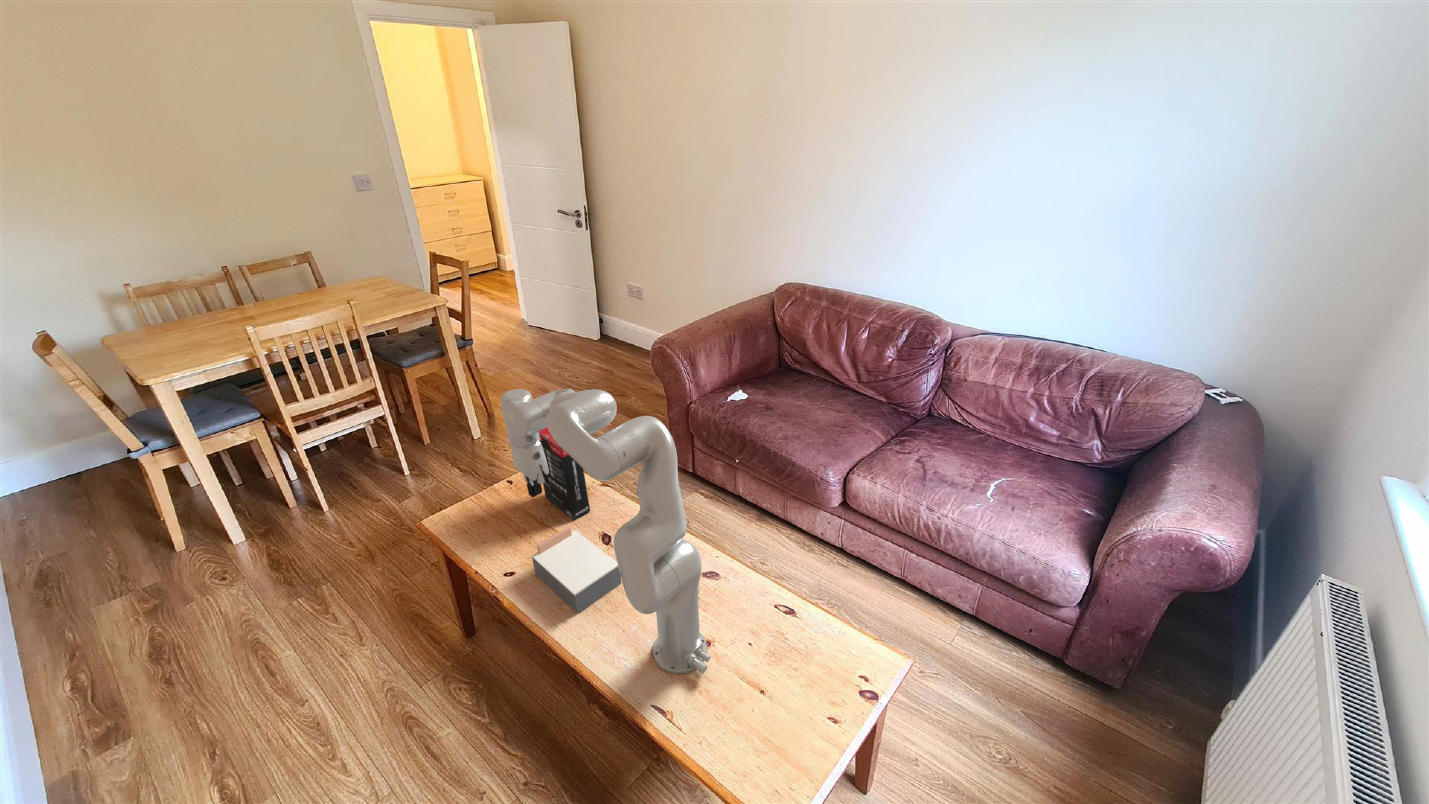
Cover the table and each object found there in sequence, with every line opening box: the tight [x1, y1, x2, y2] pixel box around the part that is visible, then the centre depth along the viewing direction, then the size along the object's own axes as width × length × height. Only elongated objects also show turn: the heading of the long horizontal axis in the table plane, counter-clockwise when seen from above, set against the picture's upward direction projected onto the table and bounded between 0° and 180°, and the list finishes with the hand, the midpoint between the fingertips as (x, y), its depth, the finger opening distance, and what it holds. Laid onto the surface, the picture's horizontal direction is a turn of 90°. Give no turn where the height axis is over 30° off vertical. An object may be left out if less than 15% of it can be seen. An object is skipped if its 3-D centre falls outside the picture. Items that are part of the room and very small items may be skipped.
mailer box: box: [531, 557, 623, 615], centre depth 155 cm, size 20×14×6 cm
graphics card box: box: [539, 427, 591, 521], centre depth 177 cm, size 17×7×27 cm, turn 46°
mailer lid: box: [531, 526, 618, 596], centre depth 152 cm, size 20×14×3 cm
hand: (535, 493), depth 155 cm, fingers closed
